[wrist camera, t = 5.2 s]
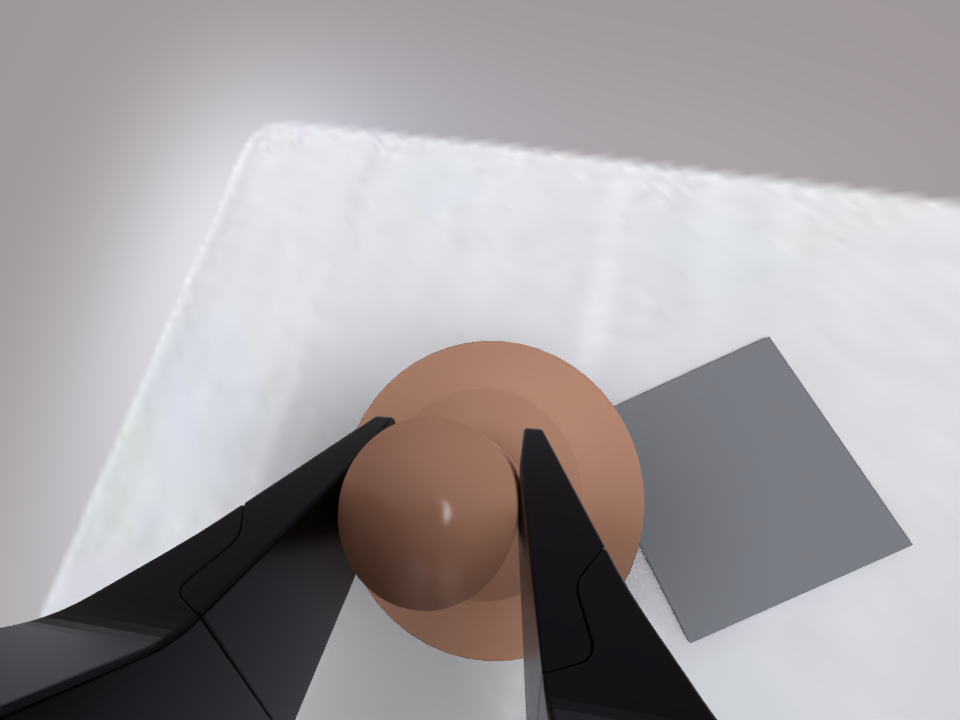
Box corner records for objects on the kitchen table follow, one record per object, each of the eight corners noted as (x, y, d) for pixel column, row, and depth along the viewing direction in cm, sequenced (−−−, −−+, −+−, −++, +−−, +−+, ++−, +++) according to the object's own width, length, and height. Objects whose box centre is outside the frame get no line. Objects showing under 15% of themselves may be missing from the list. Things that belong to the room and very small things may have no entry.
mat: (688, 640, 19) (690, 643, 19) (578, 423, 22) (578, 423, 22) (907, 543, 19) (912, 544, 19) (765, 338, 22) (769, 336, 22)
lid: (494, 716, 14) (408, 1222, 5) (306, 485, 17) (20, 507, 8) (696, 482, 15) (964, 508, 6) (487, 302, 18) (433, 120, 9)
